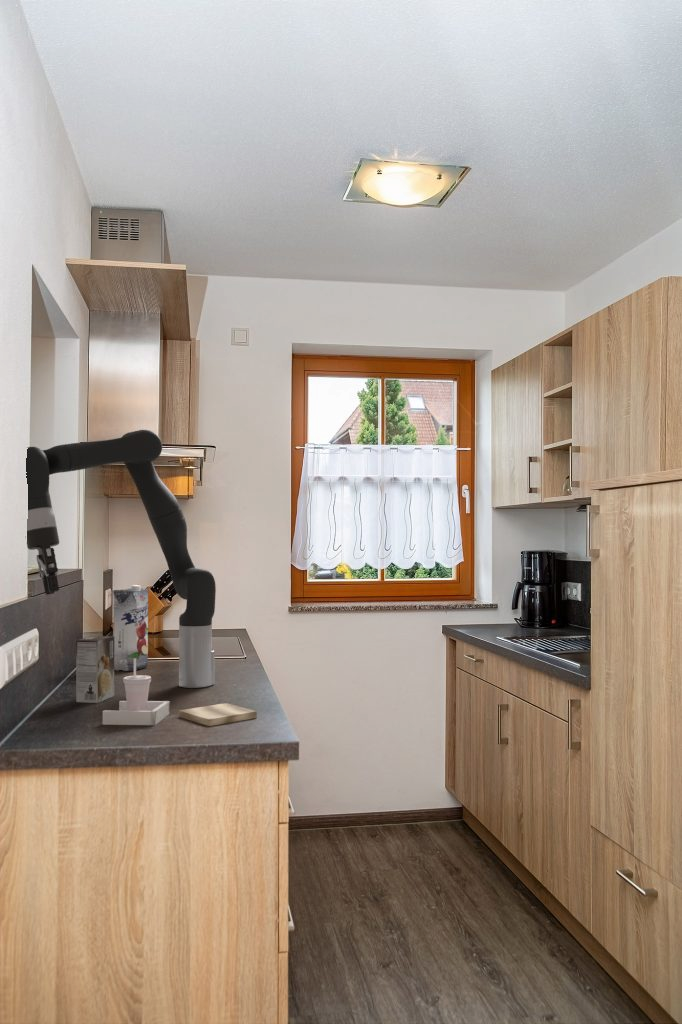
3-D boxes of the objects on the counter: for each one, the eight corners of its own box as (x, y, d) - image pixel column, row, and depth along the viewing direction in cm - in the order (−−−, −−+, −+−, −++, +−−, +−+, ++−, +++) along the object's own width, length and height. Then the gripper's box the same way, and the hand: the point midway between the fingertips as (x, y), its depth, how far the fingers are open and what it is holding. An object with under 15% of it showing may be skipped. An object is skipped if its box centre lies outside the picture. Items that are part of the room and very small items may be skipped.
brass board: (226, 709, 202) (226, 703, 202) (256, 717, 192) (256, 711, 192) (179, 716, 193) (179, 710, 193) (208, 726, 183) (208, 719, 184)
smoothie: (125, 716, 194) (125, 656, 194) (153, 715, 195) (153, 656, 195) (120, 722, 188) (120, 660, 188) (149, 721, 188) (149, 660, 189)
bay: (102, 724, 186) (102, 711, 186) (120, 713, 197) (120, 700, 198) (154, 725, 185) (154, 711, 185) (169, 713, 197) (169, 701, 197)
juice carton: (108, 670, 261) (109, 585, 262) (128, 666, 271) (128, 583, 272) (132, 672, 258) (133, 586, 259) (151, 667, 268) (151, 584, 269)
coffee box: (93, 695, 220) (93, 635, 221) (115, 696, 219) (115, 635, 219) (75, 702, 211) (75, 639, 212) (98, 703, 210) (98, 640, 210)
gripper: (60, 521, 198) (72, 587, 197) (52, 529, 211) (63, 592, 210) (27, 526, 195) (39, 594, 194) (21, 534, 208) (33, 597, 206)
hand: (52, 592), depth 202 cm, fingers open, 8 cm apart
